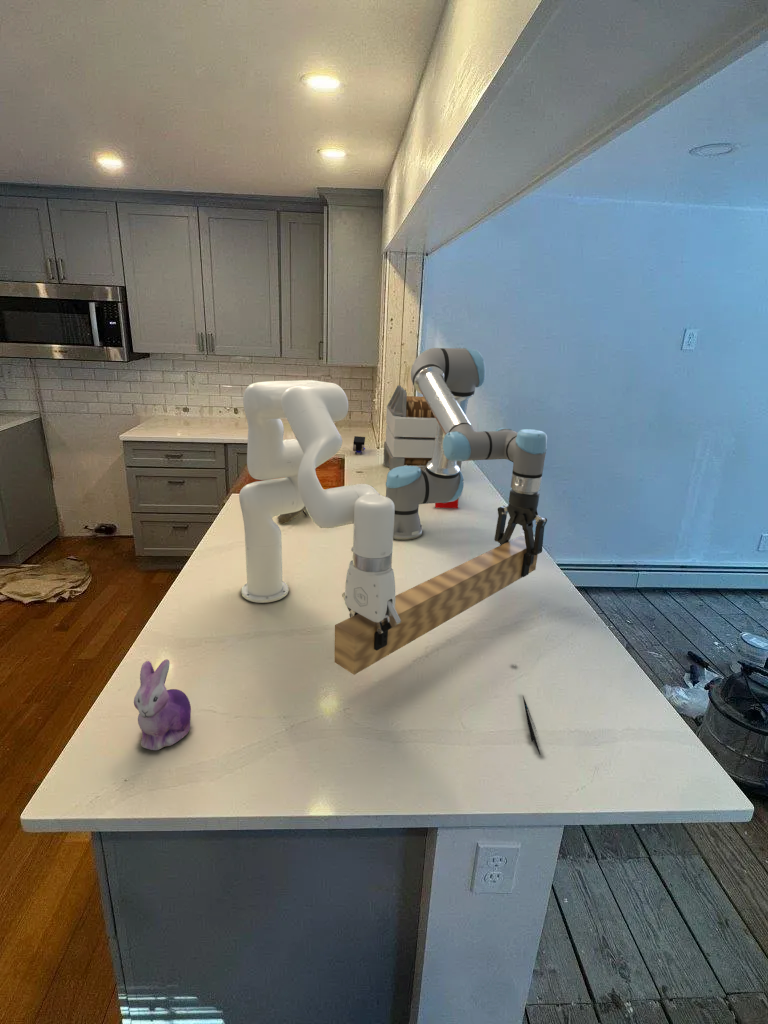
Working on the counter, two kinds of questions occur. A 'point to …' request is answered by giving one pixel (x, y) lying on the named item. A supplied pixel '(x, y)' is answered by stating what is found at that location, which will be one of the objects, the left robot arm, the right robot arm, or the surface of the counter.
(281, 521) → the fossil
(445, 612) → the beam
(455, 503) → the toy
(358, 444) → the figurine character
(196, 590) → the counter surface
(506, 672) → the counter surface
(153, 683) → the figurine
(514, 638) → the counter surface
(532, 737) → the feather
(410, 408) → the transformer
